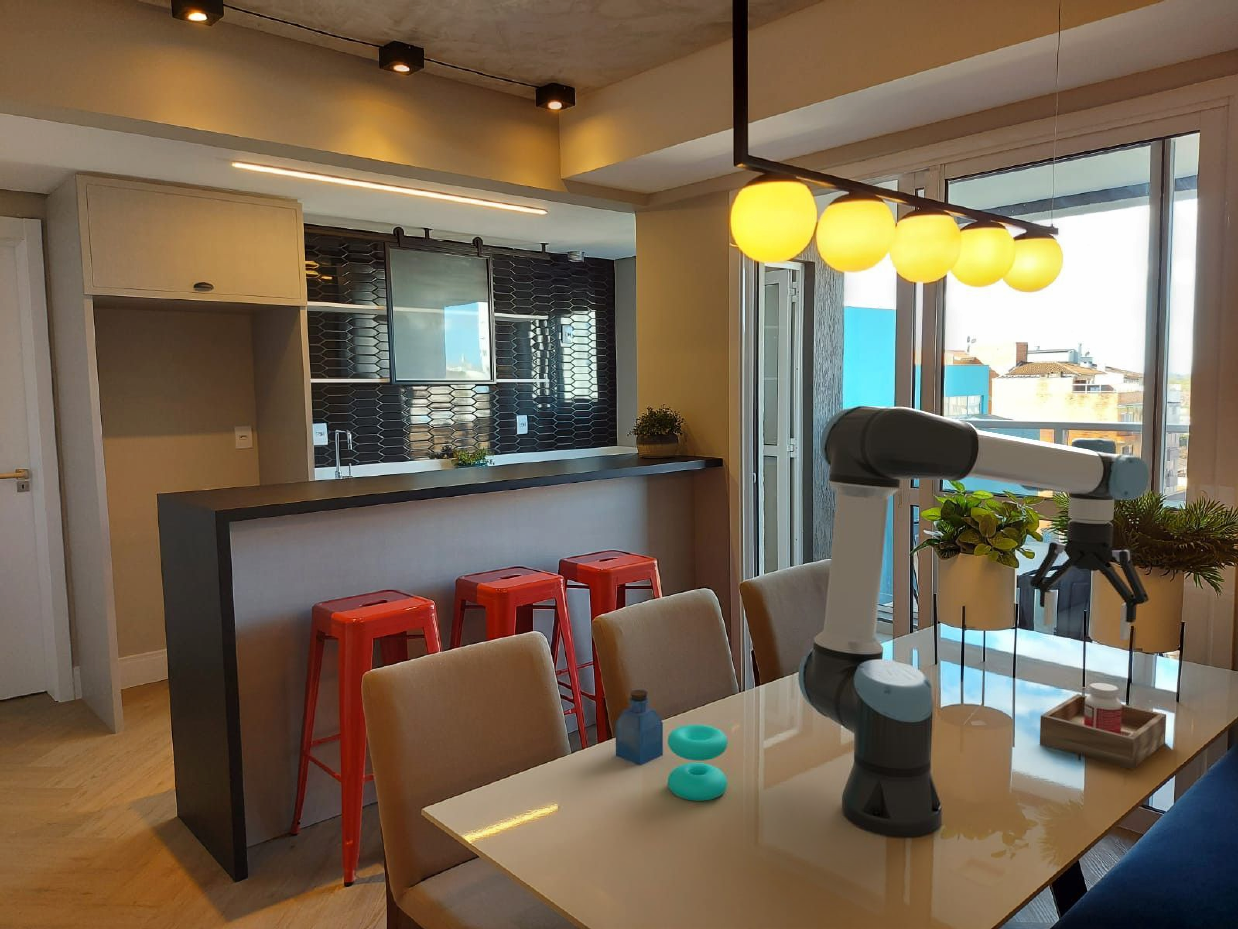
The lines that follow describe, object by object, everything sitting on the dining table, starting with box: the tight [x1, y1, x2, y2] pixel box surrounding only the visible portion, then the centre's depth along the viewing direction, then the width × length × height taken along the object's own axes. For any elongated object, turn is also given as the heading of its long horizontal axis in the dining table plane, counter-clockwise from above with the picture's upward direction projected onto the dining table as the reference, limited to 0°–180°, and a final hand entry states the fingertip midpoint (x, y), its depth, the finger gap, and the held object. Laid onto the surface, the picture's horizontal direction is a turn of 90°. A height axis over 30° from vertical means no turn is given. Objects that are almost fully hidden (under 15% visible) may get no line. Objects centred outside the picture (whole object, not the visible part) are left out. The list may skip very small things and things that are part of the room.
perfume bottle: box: [615, 689, 664, 766], centre depth 164 cm, size 6×6×12 cm
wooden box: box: [1039, 693, 1167, 770], centre depth 168 cm, size 18×16×6 cm
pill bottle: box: [1084, 682, 1122, 734], centre depth 168 cm, size 6×6×11 cm
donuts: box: [667, 724, 728, 802], centre depth 149 cm, size 10×10×10 cm
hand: (1085, 631), depth 168 cm, fingers open, 13 cm apart
